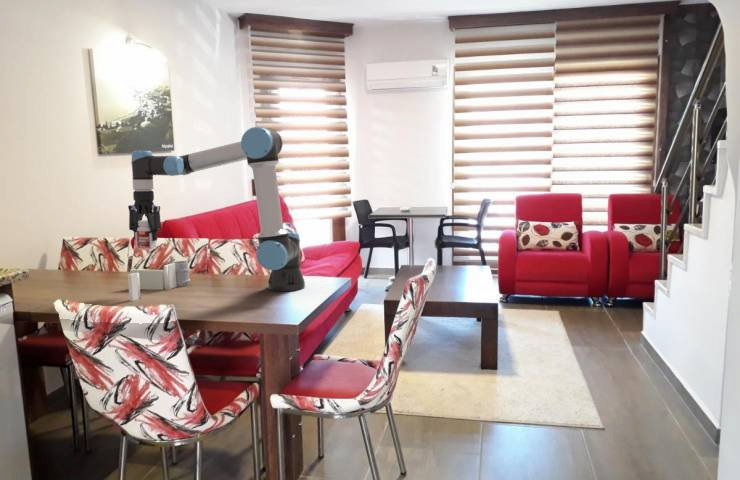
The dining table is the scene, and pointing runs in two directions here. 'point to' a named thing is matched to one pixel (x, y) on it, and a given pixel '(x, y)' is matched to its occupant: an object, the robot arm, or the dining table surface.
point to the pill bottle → (143, 235)
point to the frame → (135, 284)
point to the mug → (181, 272)
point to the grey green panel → (150, 279)
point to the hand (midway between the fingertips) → (146, 248)
